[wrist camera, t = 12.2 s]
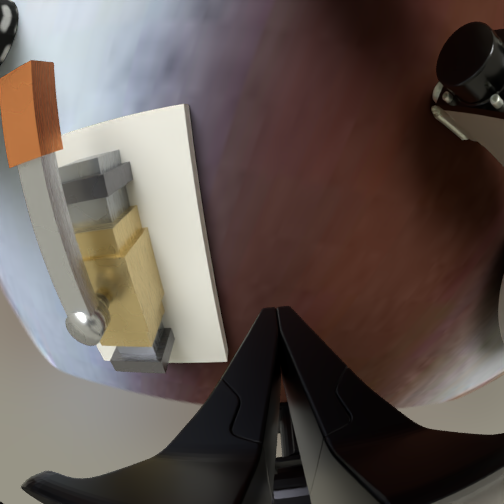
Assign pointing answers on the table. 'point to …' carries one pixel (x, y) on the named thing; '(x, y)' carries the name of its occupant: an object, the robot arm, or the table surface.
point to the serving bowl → (501, 310)
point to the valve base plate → (165, 220)
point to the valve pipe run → (118, 261)
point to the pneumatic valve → (472, 86)
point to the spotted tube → (7, 26)
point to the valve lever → (49, 193)
